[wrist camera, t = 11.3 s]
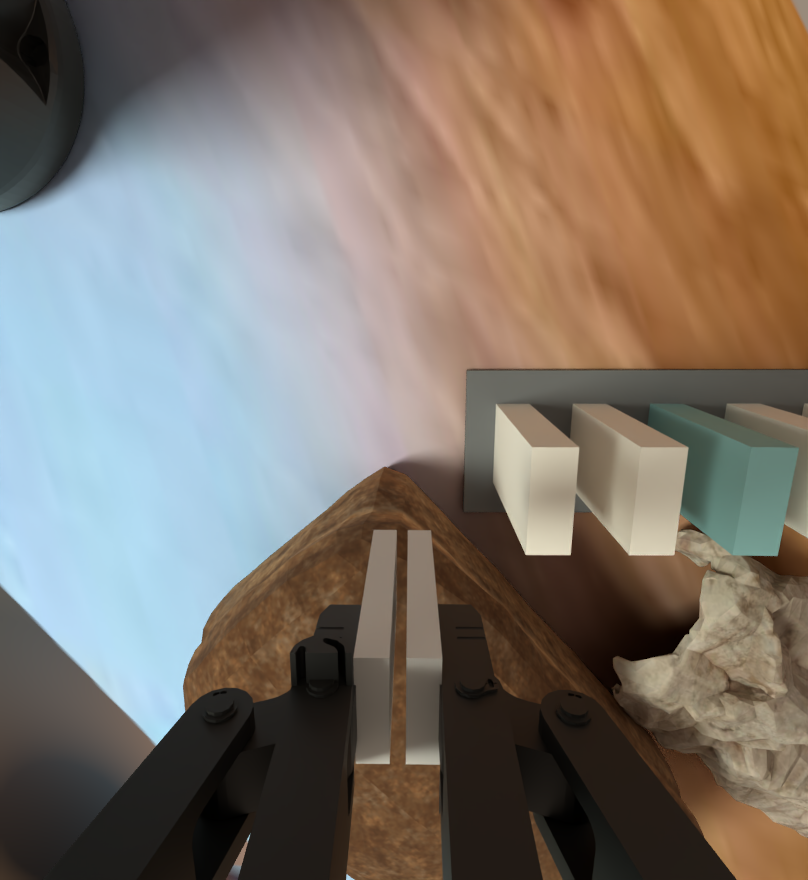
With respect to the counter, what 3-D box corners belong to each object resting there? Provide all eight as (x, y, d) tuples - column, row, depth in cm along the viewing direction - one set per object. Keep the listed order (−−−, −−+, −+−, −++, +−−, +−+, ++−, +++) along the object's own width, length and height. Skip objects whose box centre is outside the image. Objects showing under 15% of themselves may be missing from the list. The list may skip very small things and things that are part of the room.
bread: (488, 858, 42) (521, 1098, 30) (203, 594, 37) (93, 749, 24) (669, 740, 39) (793, 951, 27) (389, 433, 34) (377, 514, 21)
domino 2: (566, 482, 34) (629, 555, 24) (572, 403, 33) (640, 447, 23) (598, 482, 34) (674, 555, 24) (605, 403, 33) (688, 447, 23)
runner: (463, 509, 35) (463, 512, 34) (466, 369, 33) (467, 370, 32) (839, 510, 35) (844, 512, 34) (869, 369, 32) (874, 369, 32)
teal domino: (640, 482, 34) (732, 555, 24) (650, 403, 33) (751, 447, 23) (672, 482, 34) (777, 556, 24) (683, 403, 33) (799, 448, 23)
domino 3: (715, 482, 34) (837, 555, 24) (726, 403, 33) (860, 447, 23) (747, 482, 34) (882, 556, 24) (760, 403, 33) (908, 447, 23)
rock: (1073, 778, 32) (871, 925, 35) (918, 664, 40) (768, 790, 44) (822, 577, 25) (604, 780, 28) (702, 492, 34) (546, 656, 37)
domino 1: (492, 482, 34) (525, 555, 24) (496, 403, 33) (532, 447, 23) (524, 482, 34) (570, 555, 24) (529, 403, 33) (579, 447, 23)
